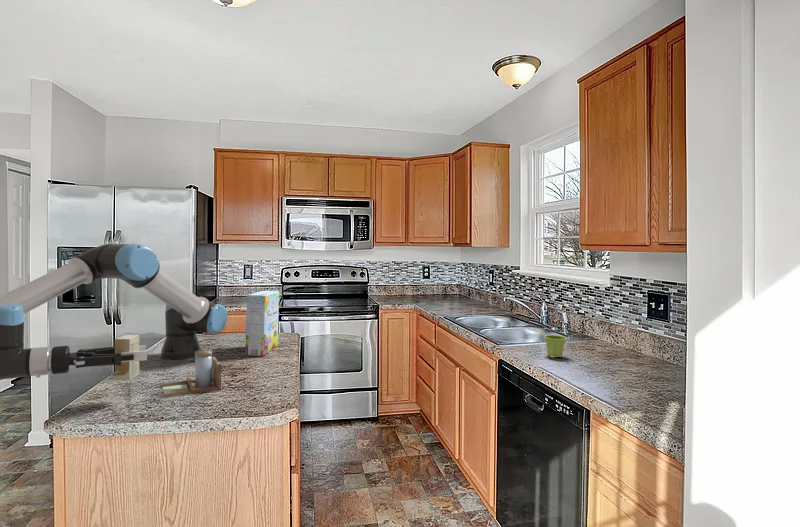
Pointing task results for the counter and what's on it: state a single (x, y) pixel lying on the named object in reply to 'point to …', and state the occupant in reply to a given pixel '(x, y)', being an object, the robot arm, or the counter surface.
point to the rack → (182, 388)
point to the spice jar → (203, 368)
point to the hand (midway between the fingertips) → (146, 352)
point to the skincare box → (127, 368)
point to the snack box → (262, 322)
